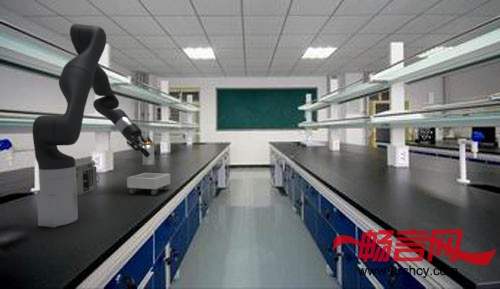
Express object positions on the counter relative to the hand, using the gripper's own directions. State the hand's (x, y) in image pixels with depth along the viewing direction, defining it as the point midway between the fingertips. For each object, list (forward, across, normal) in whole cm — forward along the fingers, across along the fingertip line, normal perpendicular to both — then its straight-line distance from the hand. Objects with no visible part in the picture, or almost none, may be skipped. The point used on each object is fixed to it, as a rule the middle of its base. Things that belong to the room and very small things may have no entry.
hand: (152, 155), depth 119 cm
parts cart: (+11, 0, +13) cm, 17 cm away
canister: (+2, 0, +4) cm, 5 cm away
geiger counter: (-10, -7, +35) cm, 37 cm away
